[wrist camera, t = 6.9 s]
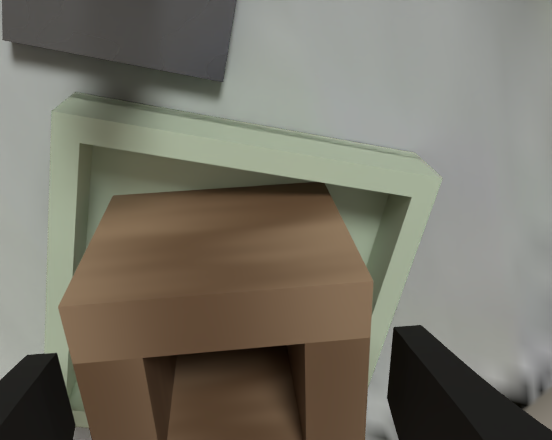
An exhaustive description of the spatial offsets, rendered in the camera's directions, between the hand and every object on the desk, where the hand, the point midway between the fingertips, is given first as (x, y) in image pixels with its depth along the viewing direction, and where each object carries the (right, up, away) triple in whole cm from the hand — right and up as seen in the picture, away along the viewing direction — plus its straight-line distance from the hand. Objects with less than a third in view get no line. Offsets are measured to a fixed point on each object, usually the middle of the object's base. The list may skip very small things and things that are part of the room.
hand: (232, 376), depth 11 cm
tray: (-1, +2, +4) cm, 5 cm away
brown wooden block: (0, +2, +3) cm, 4 cm away
